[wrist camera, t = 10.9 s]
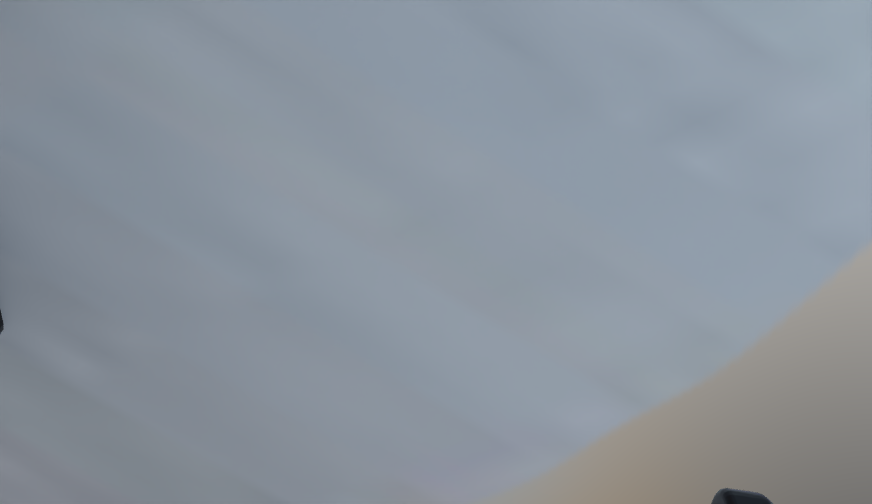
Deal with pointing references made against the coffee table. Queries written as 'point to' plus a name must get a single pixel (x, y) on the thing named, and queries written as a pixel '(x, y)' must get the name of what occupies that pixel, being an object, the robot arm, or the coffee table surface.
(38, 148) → the coffee table surface
